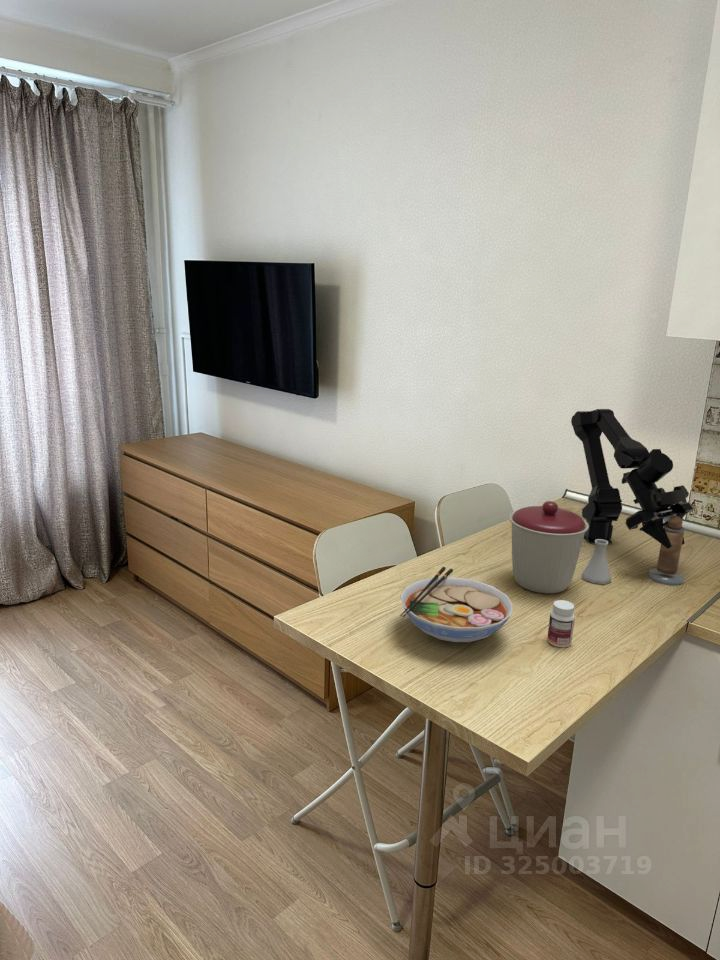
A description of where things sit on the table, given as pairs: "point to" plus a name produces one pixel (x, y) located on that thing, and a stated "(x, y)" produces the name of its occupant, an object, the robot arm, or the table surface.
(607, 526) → the robot arm
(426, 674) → the table surface
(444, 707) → the table surface
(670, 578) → the slate coaster
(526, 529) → the canister
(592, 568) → the flask
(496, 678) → the table surface
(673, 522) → the pepper mill
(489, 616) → the ramen bowl
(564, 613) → the pill bottle
